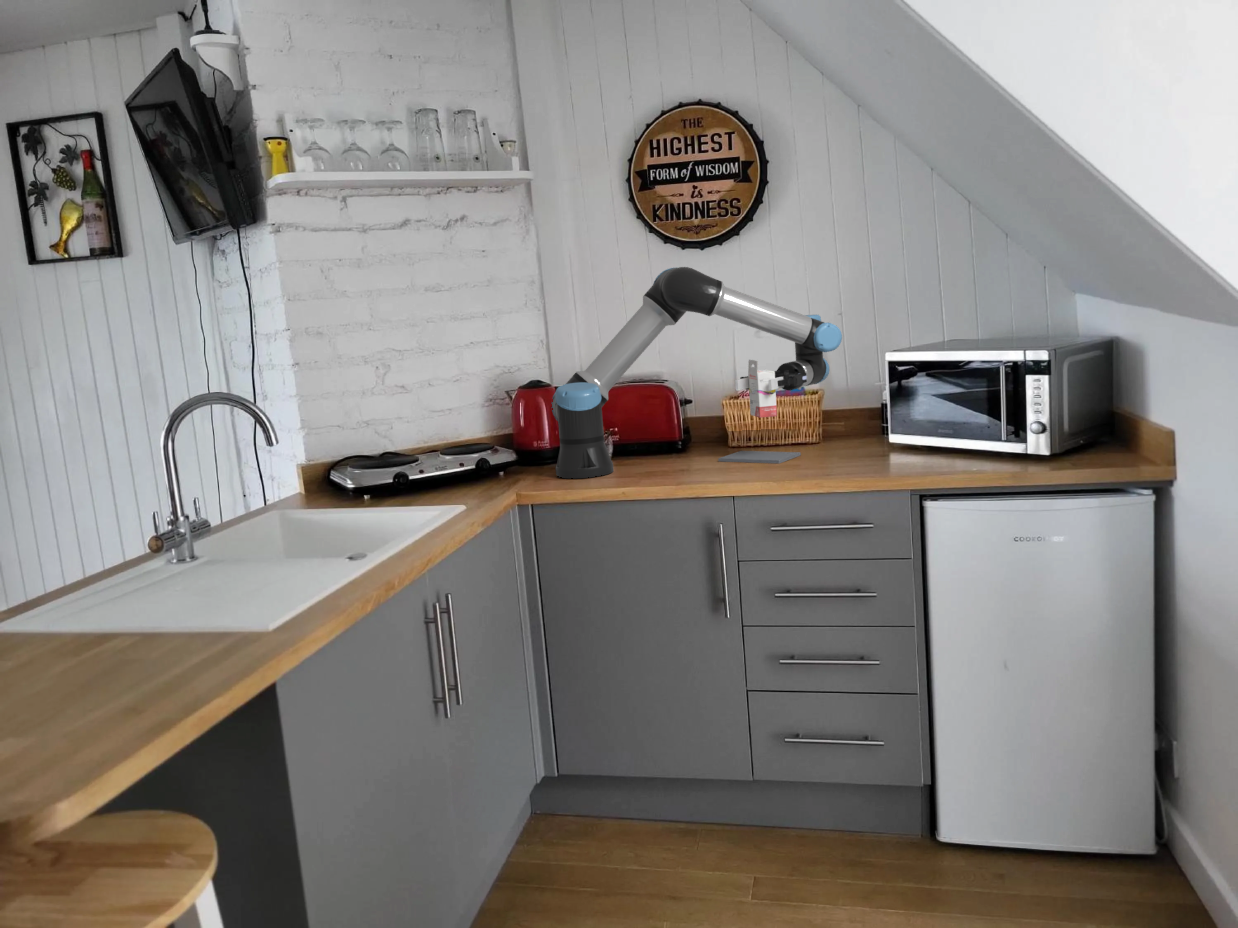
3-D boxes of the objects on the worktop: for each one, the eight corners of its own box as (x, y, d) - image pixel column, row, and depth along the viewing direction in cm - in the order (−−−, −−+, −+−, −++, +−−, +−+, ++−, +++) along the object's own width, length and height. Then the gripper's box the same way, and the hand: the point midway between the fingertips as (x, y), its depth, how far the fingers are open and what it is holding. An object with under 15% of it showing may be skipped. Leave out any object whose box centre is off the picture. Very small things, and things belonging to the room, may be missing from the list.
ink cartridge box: (778, 416, 273) (775, 359, 270) (759, 418, 272) (756, 361, 270) (767, 413, 281) (764, 357, 279) (749, 414, 280) (746, 359, 278)
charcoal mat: (718, 461, 280) (718, 458, 280) (741, 453, 290) (740, 450, 290) (779, 463, 270) (779, 460, 270) (800, 455, 279) (800, 452, 279)
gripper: (831, 388, 283) (792, 399, 266) (759, 389, 296) (717, 399, 279) (829, 360, 282) (790, 369, 265) (757, 362, 295) (715, 371, 278)
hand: (753, 385), depth 272 cm, fingers closed on ink cartridge box, 9 cm apart
